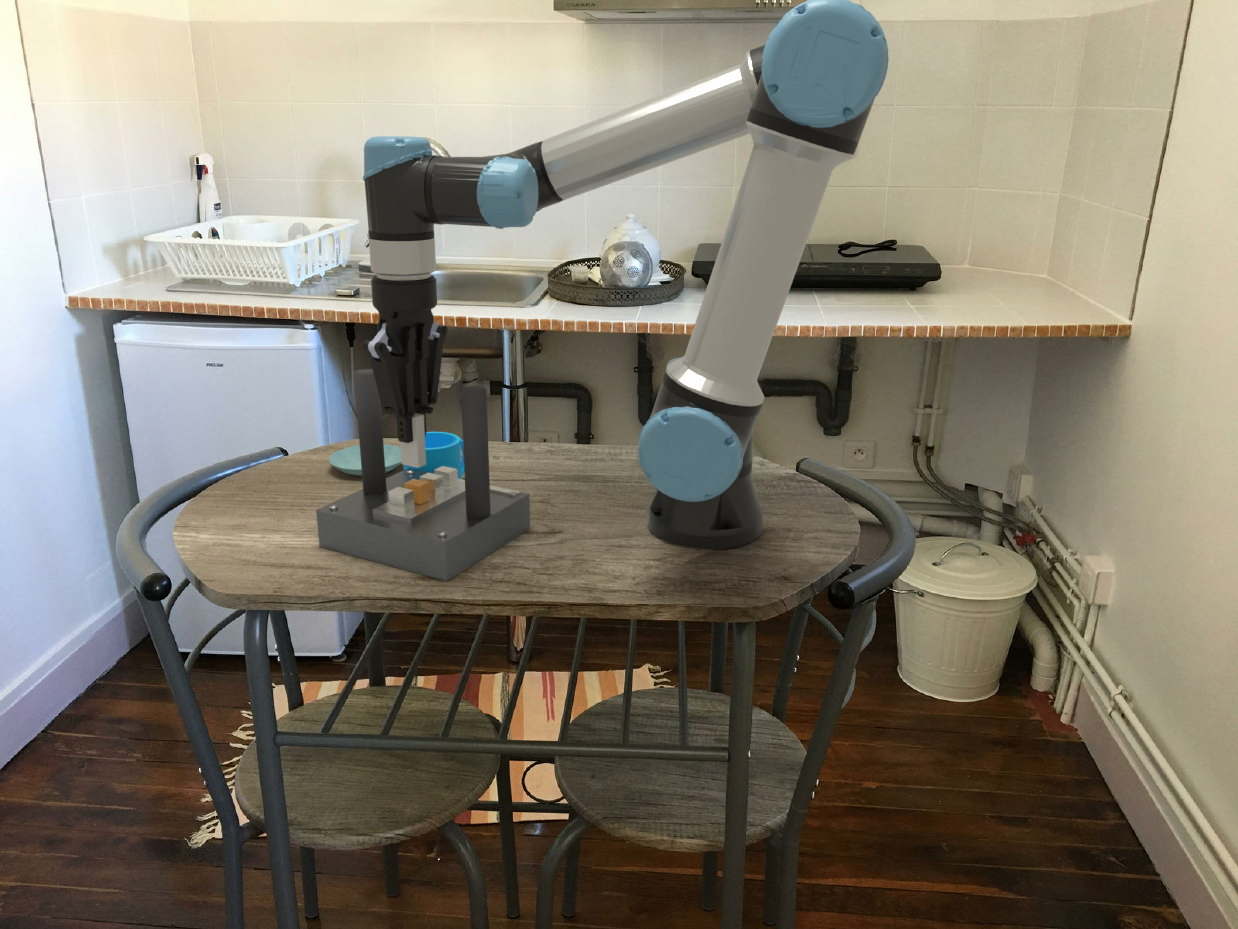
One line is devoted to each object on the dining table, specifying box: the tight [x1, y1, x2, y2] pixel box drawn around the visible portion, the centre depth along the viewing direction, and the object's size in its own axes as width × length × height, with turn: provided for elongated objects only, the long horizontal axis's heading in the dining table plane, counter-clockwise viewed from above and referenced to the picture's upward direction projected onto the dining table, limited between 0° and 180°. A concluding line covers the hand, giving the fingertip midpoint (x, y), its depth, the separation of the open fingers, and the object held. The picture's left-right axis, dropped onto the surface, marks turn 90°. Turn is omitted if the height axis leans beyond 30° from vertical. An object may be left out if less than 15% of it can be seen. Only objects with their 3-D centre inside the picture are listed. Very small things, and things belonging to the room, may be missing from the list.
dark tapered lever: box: [460, 385, 491, 519], centre depth 123 cm, size 3×3×16 cm
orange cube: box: [404, 479, 430, 504], centre depth 127 cm, size 2×2×2 cm
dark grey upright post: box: [353, 368, 387, 494], centre depth 130 cm, size 3×3×16 cm
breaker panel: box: [315, 466, 531, 582], centre depth 130 cm, size 20×18×8 cm
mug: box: [403, 431, 465, 479], centre depth 146 cm, size 12×8×8 cm
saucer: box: [328, 443, 402, 477], centre depth 155 cm, size 12×12×2 cm
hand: (413, 464), depth 126 cm, fingers closed
